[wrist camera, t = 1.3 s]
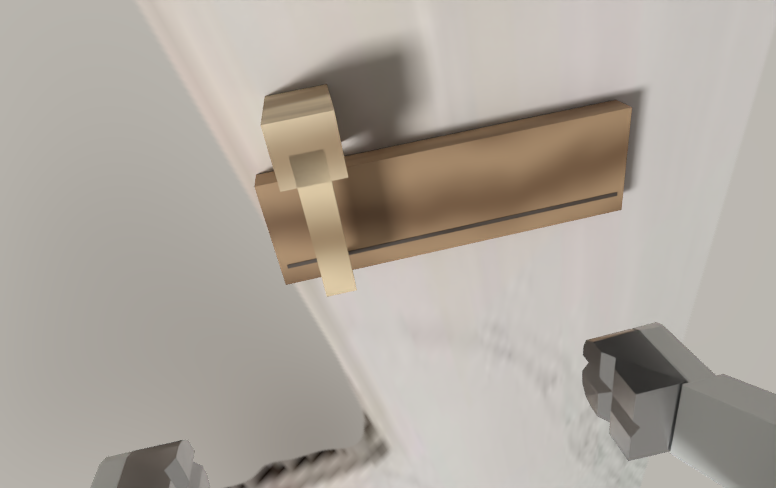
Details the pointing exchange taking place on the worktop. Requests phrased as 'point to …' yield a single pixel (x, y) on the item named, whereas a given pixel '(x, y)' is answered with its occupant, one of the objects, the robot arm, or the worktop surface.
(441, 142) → the board
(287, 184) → the beige mallet
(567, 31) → the worktop surface
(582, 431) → the worktop surface
